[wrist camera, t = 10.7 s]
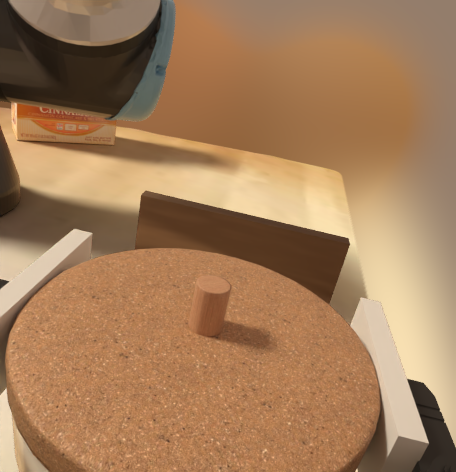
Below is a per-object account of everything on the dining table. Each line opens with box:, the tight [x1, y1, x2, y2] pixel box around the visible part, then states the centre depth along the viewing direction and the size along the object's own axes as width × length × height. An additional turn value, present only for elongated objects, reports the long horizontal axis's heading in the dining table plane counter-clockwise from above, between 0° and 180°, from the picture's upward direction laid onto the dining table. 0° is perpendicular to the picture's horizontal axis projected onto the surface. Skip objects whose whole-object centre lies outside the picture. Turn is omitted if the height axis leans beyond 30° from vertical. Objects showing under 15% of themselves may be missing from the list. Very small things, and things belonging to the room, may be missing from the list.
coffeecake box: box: [12, 103, 117, 145], centre depth 67 cm, size 15×7×20 cm, turn 120°
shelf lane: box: [135, 191, 350, 304], centre depth 32 cm, size 12×17×7 cm
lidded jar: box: [5, 248, 380, 472], centre depth 14 cm, size 11×11×9 cm
